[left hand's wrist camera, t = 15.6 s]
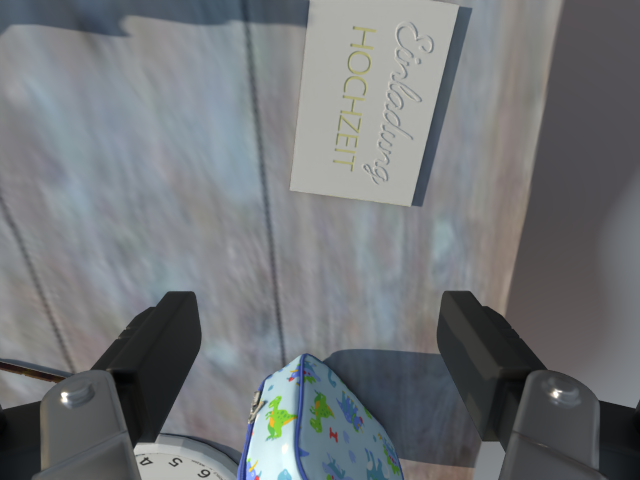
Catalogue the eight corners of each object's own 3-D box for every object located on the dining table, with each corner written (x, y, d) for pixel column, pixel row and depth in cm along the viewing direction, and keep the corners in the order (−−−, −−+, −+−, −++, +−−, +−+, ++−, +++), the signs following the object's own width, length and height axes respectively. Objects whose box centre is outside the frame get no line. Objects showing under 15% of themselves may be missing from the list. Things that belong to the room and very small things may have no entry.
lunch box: (249, 368, 53) (207, 525, 33) (305, 333, 50) (296, 480, 31) (347, 463, 60) (360, 636, 41) (400, 437, 58) (441, 607, 39)
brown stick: (-14, 360, 52) (-20, 364, 51) (-14, 357, 52) (-20, 362, 51) (89, 385, 54) (85, 390, 53) (89, 383, 54) (85, 388, 53)
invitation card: (311, -20, 34) (459, 4, 35) (312, -19, 35) (458, 5, 35) (289, 190, 42) (410, 206, 43) (290, 189, 42) (410, 205, 43)
